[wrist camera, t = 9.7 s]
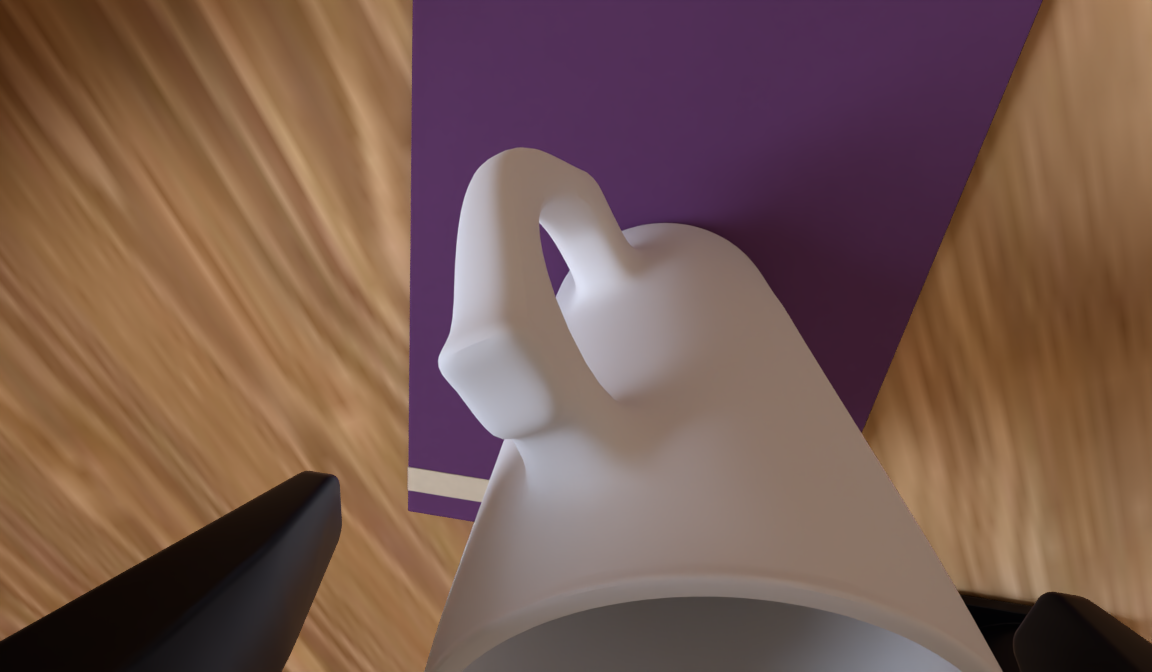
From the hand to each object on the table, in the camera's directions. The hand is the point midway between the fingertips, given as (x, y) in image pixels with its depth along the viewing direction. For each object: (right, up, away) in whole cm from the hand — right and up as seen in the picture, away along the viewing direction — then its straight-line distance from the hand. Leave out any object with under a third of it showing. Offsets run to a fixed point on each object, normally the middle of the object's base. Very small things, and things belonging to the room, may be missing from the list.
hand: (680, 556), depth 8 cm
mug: (0, +5, +9) cm, 10 cm away
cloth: (+1, +5, +9) cm, 10 cm away
